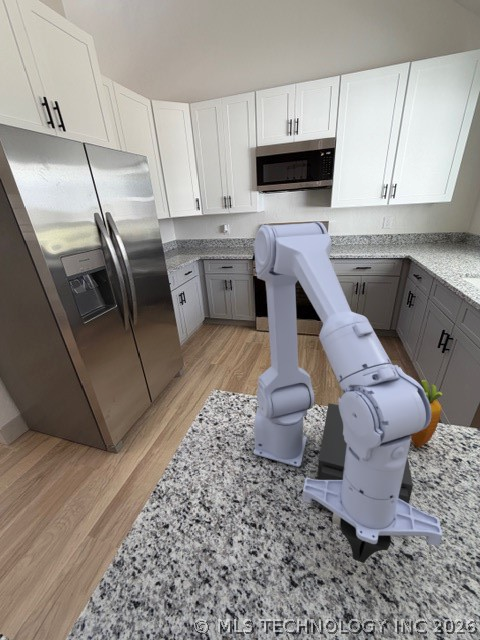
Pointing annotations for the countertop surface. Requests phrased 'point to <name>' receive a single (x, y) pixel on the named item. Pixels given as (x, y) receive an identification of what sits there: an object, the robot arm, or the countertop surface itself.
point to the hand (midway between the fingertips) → (358, 553)
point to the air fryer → (344, 448)
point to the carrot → (426, 434)
